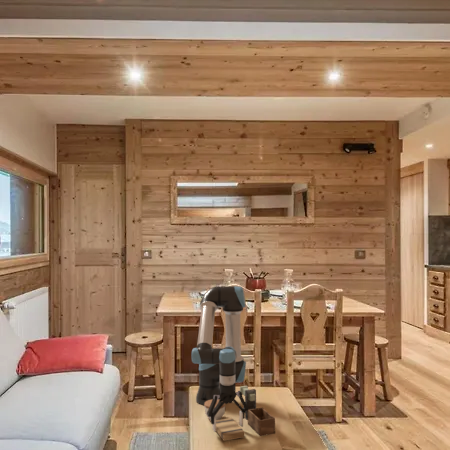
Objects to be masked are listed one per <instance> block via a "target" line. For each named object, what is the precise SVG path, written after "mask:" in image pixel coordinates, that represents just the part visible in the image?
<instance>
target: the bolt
mask: <svg viewBox="0 0 450 450" xmlns="http://www.w3.org/2000/svg"><path fill="white" fill-rule="evenodd" d="M245 390H250V389H249V387H248V385H243V386H239V391H240V392H242V396H243V397H245ZM248 398H249V400H250V401H255V394H254V393H248Z"/></svg>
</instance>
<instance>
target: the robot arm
mask: <svg viewBox="0 0 450 450" xmlns="http://www.w3.org/2000/svg"><path fill="white" fill-rule="evenodd" d="M199 308H200V318H199V327H198V336H197V343H196V347H193V348H192V350H191V362H192V364H198V379H199V380H198V390H197V392H196V395H195V401H196V403H197V404H199V405H203V406H204V403H205V402H206V401H208V400H212V399H213V400H212V402H211V405H210V407H209V409H208V412H207V415H208V417H211V420H210V423H211V425H212V430H213V432H214V433H215V432H216V433H217V431H216V417H215V415H216V414H217V412H218V411H219V409H220V408H221V407H222V406H223V405H224V403H225V405H227V404H232V403H234V404H235V405H236V406H237V408H238V409H239V414H238V415H239V418H238V420H239V424H238V425H239V426H240V427H241V428H242V427H244V419H245V412H246V411H248V407H247V405H246V403H245V398H244V396H243V395H242V392H240V390H236V383H239V384H240V383H243V382H244V381H245V376H246V366H247V361H246V360H244V356H242V348H241V347H242V345H241V344H242V342H241V340H242V338H241V329H242V328H241V327H242V325H241V322H242V321H241V313H242V312H243V311H244V308H246V297H245V291H244V288H243V287H242V286H236V285H235V286H234V285H232V286H230V285H229V286H228V285H227V286H219V285H218V286H217V285H216V286H213V287H211V288H209V289H208V290H207V291H206V292H205V293H204V294H203V295H202V297H201V299H200V303H199ZM218 308H222V311H223V312H224V314H225V316H224V317H225V318H224V319H225V321H224V322H225V324H224V325H225V347H224V348H223V347H222V348H214V347H213V337H214V327H215V314H216V311H217V310H218ZM236 397H238V398H239V400H240V403H241V404H242V406H241V404H240V403H239V402H238V401H237V400H236ZM218 399H219V402H218V404H217V405H216V402H217V400H218ZM215 405H216V407H215ZM214 407H215V408H214ZM213 409H214V410H213ZM207 415H206V416H207ZM208 417H207V418H208Z"/></svg>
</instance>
